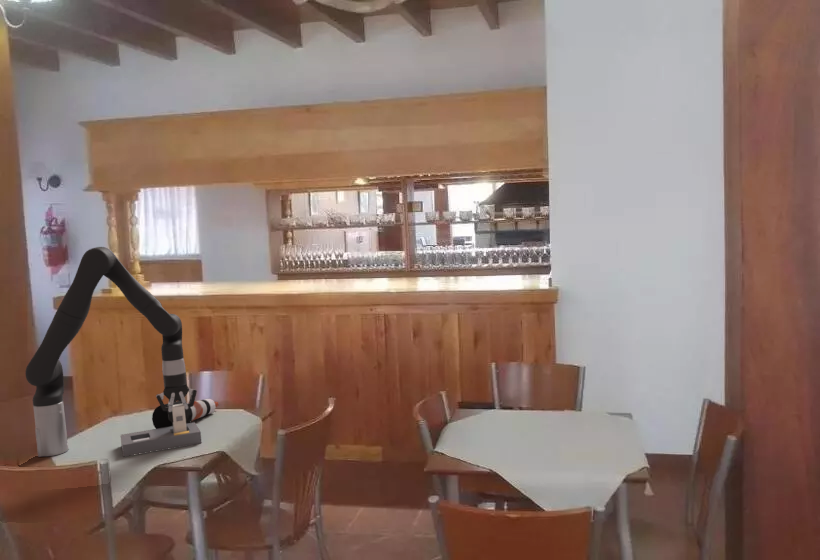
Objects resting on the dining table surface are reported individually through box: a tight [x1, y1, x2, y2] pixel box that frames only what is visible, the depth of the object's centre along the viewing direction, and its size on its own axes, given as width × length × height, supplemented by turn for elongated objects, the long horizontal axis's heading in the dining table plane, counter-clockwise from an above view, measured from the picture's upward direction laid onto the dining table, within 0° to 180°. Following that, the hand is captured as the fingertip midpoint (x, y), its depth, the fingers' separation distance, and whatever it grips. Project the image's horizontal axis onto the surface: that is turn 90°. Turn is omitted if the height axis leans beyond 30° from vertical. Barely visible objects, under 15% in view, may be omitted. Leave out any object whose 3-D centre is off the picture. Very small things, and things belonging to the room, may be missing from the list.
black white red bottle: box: [151, 398, 220, 429], centre depth 280 cm, size 10×34×10 cm, turn 160°
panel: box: [120, 421, 203, 457], centre depth 253 cm, size 25×14×4 cm, turn 114°
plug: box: [172, 404, 187, 433], centre depth 254 cm, size 4×5×11 cm
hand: (179, 420), depth 255 cm, fingers closed on plug, 4 cm apart
